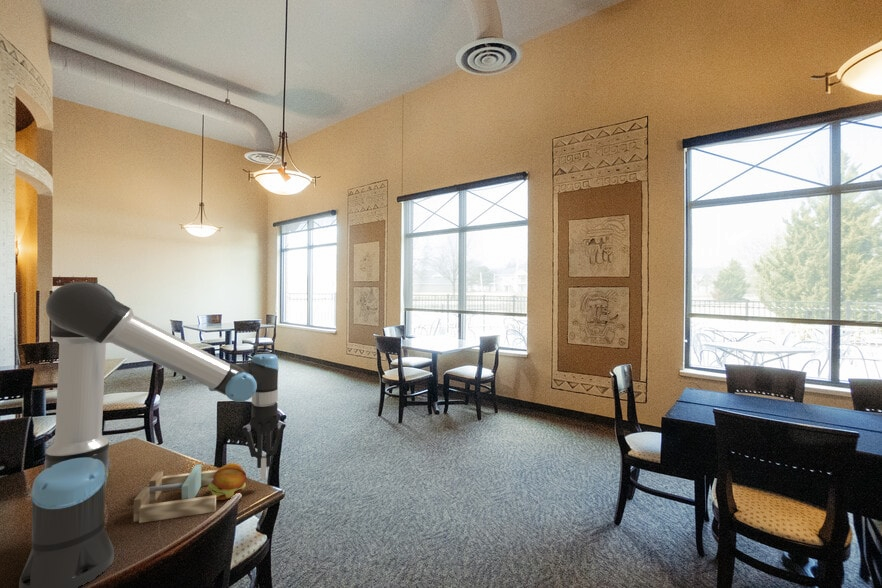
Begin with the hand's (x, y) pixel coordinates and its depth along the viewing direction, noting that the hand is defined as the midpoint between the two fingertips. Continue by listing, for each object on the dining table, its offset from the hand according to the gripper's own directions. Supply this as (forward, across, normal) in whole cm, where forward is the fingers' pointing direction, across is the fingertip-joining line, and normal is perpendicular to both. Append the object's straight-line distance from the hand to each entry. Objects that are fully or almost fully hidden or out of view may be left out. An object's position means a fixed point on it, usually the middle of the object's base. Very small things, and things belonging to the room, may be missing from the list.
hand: (263, 477), depth 124 cm
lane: (+4, +22, 0) cm, 22 cm away
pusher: (+4, +26, 0) cm, 26 cm away
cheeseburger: (+4, +10, 0) cm, 11 cm away
